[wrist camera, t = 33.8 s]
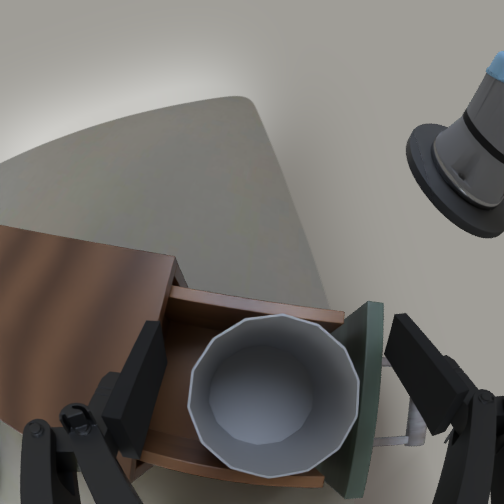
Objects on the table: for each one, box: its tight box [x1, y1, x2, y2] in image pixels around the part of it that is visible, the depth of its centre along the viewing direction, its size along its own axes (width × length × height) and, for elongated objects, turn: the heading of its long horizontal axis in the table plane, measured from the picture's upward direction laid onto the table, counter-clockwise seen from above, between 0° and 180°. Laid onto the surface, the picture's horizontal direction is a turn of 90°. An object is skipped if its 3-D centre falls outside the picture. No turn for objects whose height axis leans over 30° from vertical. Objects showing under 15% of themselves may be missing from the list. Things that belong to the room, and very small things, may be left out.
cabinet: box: [0, 225, 188, 483], centre depth 19 cm, size 17×14×11 cm
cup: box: [187, 313, 360, 479], centre depth 17 cm, size 8×8×10 cm
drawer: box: [137, 285, 427, 499], centre depth 19 cm, size 22×13×9 cm, turn 81°
